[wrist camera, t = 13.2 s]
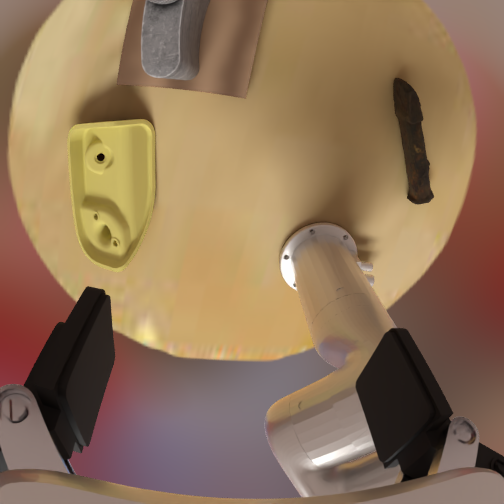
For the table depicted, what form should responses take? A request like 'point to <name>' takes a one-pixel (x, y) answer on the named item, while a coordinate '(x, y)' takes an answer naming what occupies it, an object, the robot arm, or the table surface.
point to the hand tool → (413, 142)
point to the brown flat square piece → (204, 49)
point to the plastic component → (112, 188)
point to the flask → (172, 37)
